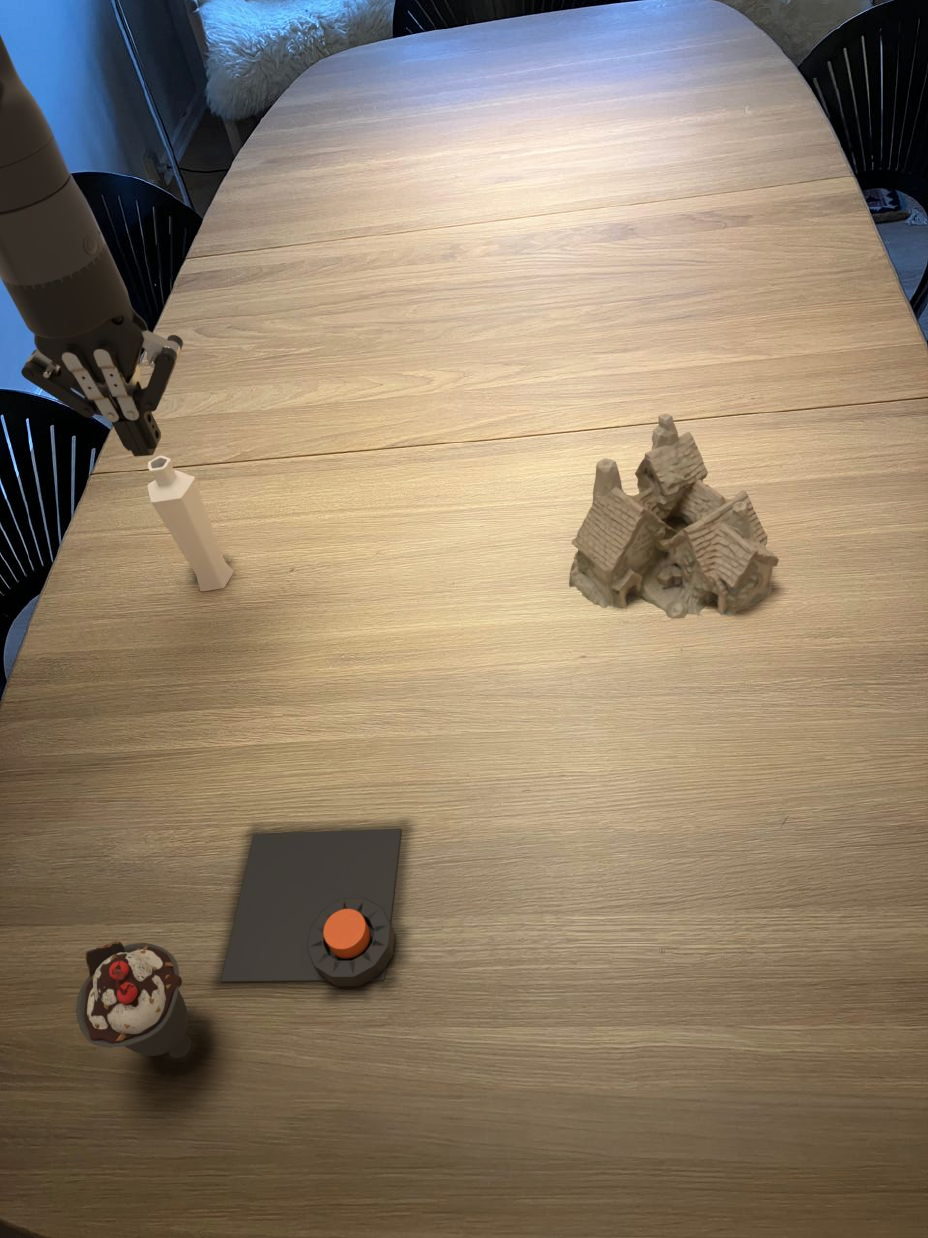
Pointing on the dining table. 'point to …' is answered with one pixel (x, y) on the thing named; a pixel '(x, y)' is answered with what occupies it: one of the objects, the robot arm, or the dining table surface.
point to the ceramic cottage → (670, 536)
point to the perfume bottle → (188, 523)
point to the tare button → (346, 933)
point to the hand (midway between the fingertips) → (146, 449)
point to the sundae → (134, 1000)
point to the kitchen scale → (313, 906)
